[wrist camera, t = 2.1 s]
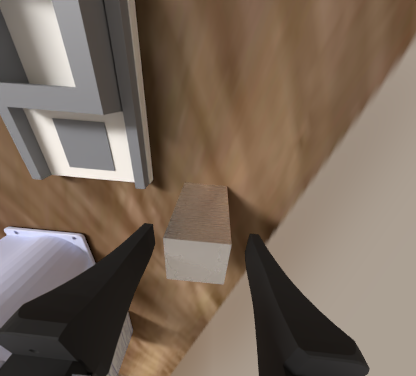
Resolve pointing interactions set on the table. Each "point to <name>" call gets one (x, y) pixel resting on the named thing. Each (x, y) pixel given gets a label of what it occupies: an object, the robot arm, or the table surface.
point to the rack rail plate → (75, 88)
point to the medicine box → (121, 347)
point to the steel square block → (199, 235)
